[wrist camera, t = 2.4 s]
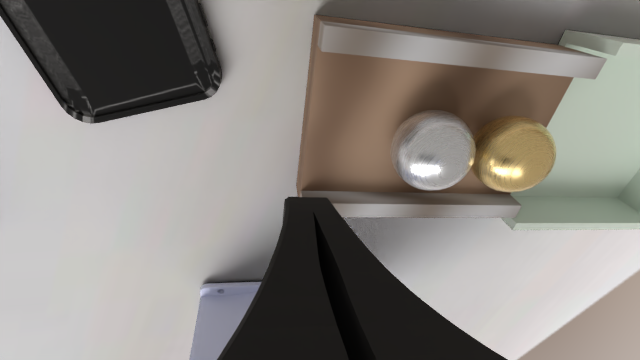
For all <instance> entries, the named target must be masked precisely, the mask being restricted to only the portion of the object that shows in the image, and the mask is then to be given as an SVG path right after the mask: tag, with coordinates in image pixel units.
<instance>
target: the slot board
mask: <svg viewBox="0 0 640 360" xmlns="http://www.w3.org/2000/svg"><path fill="white" fill-rule="evenodd" d="M606 60H607V59H606V58H603V57H599V56H596V55H592V54H589V53H585V52H582V51H578V50H575V49H571V48H567V47H564V46H560V45H555V44H547V43H539V42H531V41H523V40H515V39H507V38H499V37H491V36H483V35H475V34H466V33H458V32H450V31H442V30H434V29H426V28H418V27H410V26H402V25H394V24H386V23H378V22H369V21H361V20H353V19H345V18H337V17H329V16H321V15H314V23H313V33H312V42H311V52H310V61H309V70H308V80H307V89H306V99H305V108H304V118H303V127H302V137H301V146H300V156H299V165H298V175H297V184H296V186H297V193H298V197H327V198H328V199H329V200H330V202H331V203H332V204H333V206H334V207H335V209H336V210H337V211H338V213H339V214H340V215H341V217H404V218H515V217H516V215H517V213H518V212H519V210H520V208H521V206H522V205H521V204H520V203H519V202H518V201H517V200H515V199H514V198H513V197H512V196H511V195H510V194H511V192H502V191H497V190H494V189H492V188H489V187H487V186H486V185H484V184H483V183H481V182H480V181H479V180H478V179H477V178H476V177H475V175H474V174H473V172H472V170H471V168H470V170H469V172H468V173H467V174H466V176H465V177H464V178H463V179H462V180H460V181H459V182H458V183H456V184H455V185H453V186H451V187H449V188H446V189H442V190H436V191H428V190H422V189H418V188H415V187H413V186H411V185H409V184H408V183H406V182H405V181H404V180H403V179H402V178H401V177H400V176H399V175H398V173H397V172H396V170H395V168H394V166H393V164H392V160H391V143H392V139H393V137H394V134H395V132H396V131H397V129H398V128H399V126H400V125H401V124H402V123H403V122H404V121H405V120H407V119H408V118H409V117H411V116H413V115H415V114H417V113H419V112H423V111H427V110H441V111H446V112H449V113H452V114H454V115H456V116H457V117H459V118H460V119H462V120H463V121H464V122H465V123H466V124H467V126H468V127H469V129H470V130H471V132H472V134H473V137H474V135H475V134H476V133H477V131H478V130H479V129H480V128H482V127H483V126H484V125H485V124H487V123H488V122H490V121H492V120H494V119H497V118H500V117H505V116H523V117H527V118H530V119H533V120H535V121H537V122H539V123H540V124H542V125H543V126H544V127H545V128H547V126H548V124H549V122H550V120H551V118H552V117H553V115H554V113H555V111H556V109H557V107H558V106H559V104H560V102H561V100H562V98H563V96H564V95H565V93H566V91H567V89H568V87H569V85H570V84H571V82H572V80H573V78H574V77H576V78H586V79H596V78H597V76H598V74H599V72H600V71H601V69H602V67H603V65H604V64H605V62H606Z"/></svg>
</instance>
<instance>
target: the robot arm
mask: <svg viewBox="0 0 640 360" xmlns="http://www.w3.org/2000/svg"><path fill="white" fill-rule="evenodd" d="M200 294H201V299H200V304H199V310H198V315H197V321H196V326H195V332H194V337H193V343H192V348H191V354H190V359H189V360H507V359H506V358H504V357H502V356H501V355H499V354H498V353H496V352H494V351H493V350H491V349H489V348H488V347H486V346H485V345H483V344H482V343H480V342H479V341H477V340H476V339H474V338H473V337H471V336H470V335H468V334H467V333H465V332H464V331H462V330H461V329H459V328H458V327H457V326H455V325H454V324H452V323H451V322H450V321H448V320H447V319H446V318H444V317H443V316H442V315H440V314H439V313H438V312H436V311H435V310H434V309H433V308H431V307H430V306H429V305H427V304H426V303H425V302H424V301H422V300H421V299H420V298H419V297H417V296H416V295H415V294H414V293H413V292H411V291H410V290H409V289H408V288H407V287H406V286H405V285H404V284H402V283H401V282H400V281H399V280H398V279H397V278H396V277H395V276H394V275H393V274H391V273H390V272H389V271H388V270H387V269H386V268H385V267H384V266H383V265H382V263H381V262H380V261H379V260H378V259H377V258H376V257H375V256H374V255H373V254H372V253H371V252H370V251H369V249H368V248H367V247H366V246H365V245H364V244H363V243H362V241H361V240H360V239H359V238H358V237H357V235H356V234H355V233H354V232H353V231H352V229H351V228H350V227H349V226H348V224H347V223H346V222H345V220H344V219H343V218H342V217H341V215H340V214H339V213H338V211H337V210H336V209H335V207H334V206H333V204H332V203H331V202H330V200H329V199H328V198H327V197H288V198H287V199H285V202H284V214H283V226H282V229H281V233H280V236H279V240H278V243H277V246H276V249H275V251H274V254H273V256H272V259H271V262H270V264H269V267H268V269H267V271H266V274H265V276H264V278H263V280H262V282H239V283H211V284H204V285H202V286H201V290H200Z"/></svg>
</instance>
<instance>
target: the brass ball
mask: <svg viewBox="0 0 640 360" xmlns="http://www.w3.org/2000/svg"><path fill="white" fill-rule="evenodd" d="M474 140H475V147H476V152H475V158H474V162H473V164H472V166H471V170H472V172H473V174H474V175H475V177H476V178H477V179H478V180H479V181H480V182H481V183H483V184H484V185H486V186H487V187H489V188H492V189H494V190H497V191H502V192H519V191H524V190H527V189H530V188H532V187H534V186H536V185H537V184H539V183H540V182H542V181H543V180H544V179H545V178H546V177H547V176H548V175H549V173H550V172H551V170H552V168H553V166H554V164H555V160H556V145H555V141H554V139H553V137H552V135H551V133H550V132H549V131H548V130H547V129H546V128H545V127H544V126H543V125H542V124H540V123H539V122H537V121H535V120H533V119H530V118H527V117H523V116H505V117H500V118H497V119H494V120H492V121H490V122H488V123H487V124H485V125H484V126H483V127H482V128H480V129H479V130H478V131H477V133H476V134H475V135H474Z"/></svg>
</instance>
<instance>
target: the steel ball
mask: <svg viewBox="0 0 640 360" xmlns="http://www.w3.org/2000/svg"><path fill="white" fill-rule="evenodd" d="M475 152H476V147H475V140H474V137H473V134H472V132H471V130H470V129H469V127H468V126H467V124H466V123H465V122H464V121H463V120H462V119H460V118H459V117H457V116H456V115H454V114H452V113H449V112H446V111H441V110H427V111H423V112H419V113H417V114H415V115H413V116H411V117H409V118H408V119H407V120H405V121H404V122H403V123H402V124H401V125H400V126H399V128H398V129H397V131H396V132H395V134H394V137H393V139H392V143H391V160H392V164H393V166H394V168H395V170H396V172H397V173H398V175H399V176H400V177H401V178H402V179H403V180H404V181H405V182H406V183H408V184H409V185H411V186H413V187H415V188H418V189H422V190H428V191H436V190H442V189H446V188H449V187H451V186H453V185H455V184H456V183H458V182H459V181H460V180H462V179H463V178H464V177H465V176H466V174H467V173H468V172H469V170H470V168H471V166H472V164H473V162H474V158H475Z"/></svg>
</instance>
